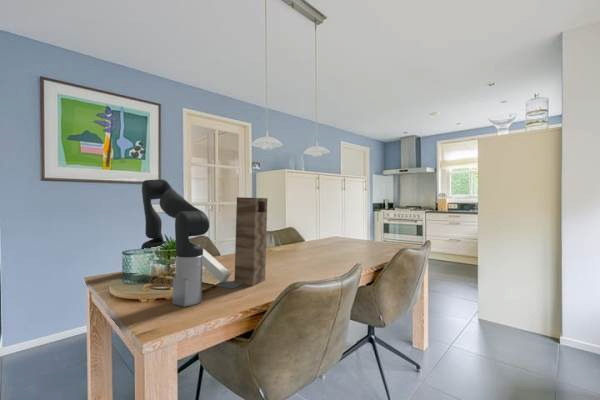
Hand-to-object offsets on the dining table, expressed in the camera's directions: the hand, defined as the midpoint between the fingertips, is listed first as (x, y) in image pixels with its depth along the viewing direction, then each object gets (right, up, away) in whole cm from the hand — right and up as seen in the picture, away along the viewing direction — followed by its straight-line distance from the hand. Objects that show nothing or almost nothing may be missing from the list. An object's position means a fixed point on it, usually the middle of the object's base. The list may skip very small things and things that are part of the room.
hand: (204, 254), depth 129 cm
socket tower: (+21, -12, 0) cm, 25 cm away
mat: (+6, -12, -3) cm, 14 cm away
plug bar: (+2, -5, -1) cm, 6 cm away
